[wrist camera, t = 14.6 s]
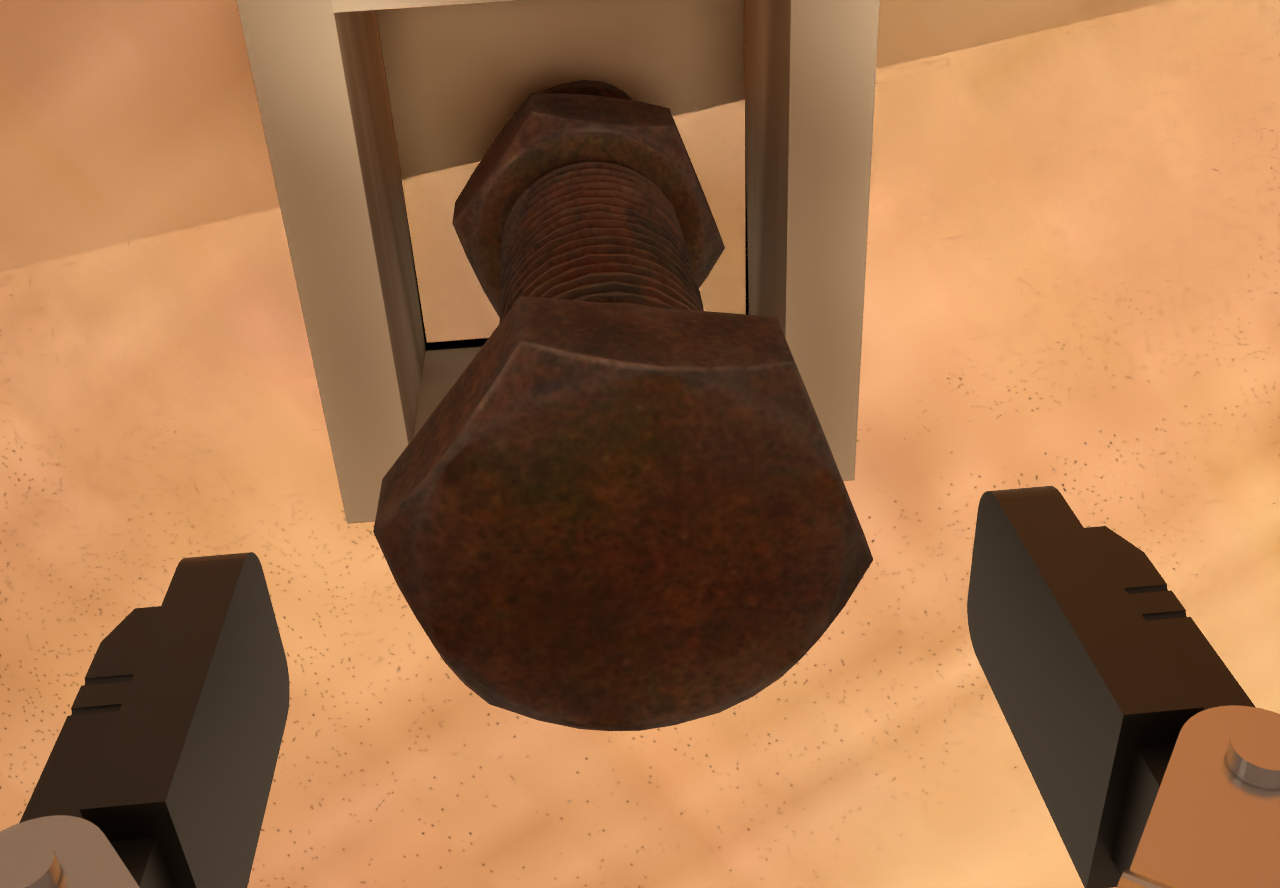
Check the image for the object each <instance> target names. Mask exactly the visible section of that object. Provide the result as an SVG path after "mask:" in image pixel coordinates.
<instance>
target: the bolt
mask: <svg viewBox="0 0 1280 888" xmlns="http://www.w3.org/2000/svg"><path fill="white" fill-rule="evenodd" d="M453 226H454V228H455V230H456V233H457V235H458V237H459V240H460V242H461V244H462V247H463V249H464V251H465V254H466V256H467V258H468V260H469V262H470V264H471V266H472V268H473V270H474V272H475V274H476V276H477V278H478V280H479V282H480V284H481V286H482V288H483V290H484V292H485V294H486V295H487V297H488V299H489V301H490V302H491V304H492V306H493V307H494V309H495V311H496V312H497V314H498V316H499V317H500V323H499V325H498V327H497V328H496V329H495V331H494V332H493V333H492V334H491V336H490V337H489V338H488V340H487V341H486V342H485V344H484V345H483V346H482V348H481V349H480V350H479V352H478V353H477V354H476V356H475V357H474V358H473V360H472V361H471V362H470V364H469V365H468V366H467V368H466V369H465V370H464V372H463V373H462V374H461V375H460V377H459V378H458V379H457V381H456V382H455V383H454V385H453V386H452V387H451V389H450V390H449V391H448V393H447V394H446V395H445V397H444V398H443V399H442V401H441V402H440V403H439V405H438V406H437V407H436V409H435V410H434V411H433V413H432V414H431V415H430V416H429V418H428V419H427V420H426V422H425V423H424V424H423V426H422V427H421V428H420V430H419V431H418V432H417V434H416V435H415V436H414V438H413V439H412V440H411V442H410V443H409V444H408V446H407V447H406V448H405V450H404V451H403V452H402V453H401V455H400V456H399V457H398V459H397V460H396V461H395V463H394V464H393V465H392V467H391V468H390V469H389V471H388V472H387V473H386V475H385V476H384V477H383V479H382V483H381V489H380V495H379V501H378V507H377V513H376V519H375V525H374V531H373V532H374V534H375V536H376V539H377V541H378V543H379V545H380V548H381V550H382V552H383V554H384V556H385V559H386V561H387V563H388V565H389V568H390V570H391V572H392V574H393V576H394V579H395V581H396V583H397V585H398V587H399V589H400V590H401V592H402V594H403V596H404V597H405V599H406V601H407V602H408V604H409V606H410V608H411V609H412V611H413V613H414V615H415V616H416V618H417V620H418V621H419V623H420V624H421V626H422V628H423V629H424V631H425V632H426V634H427V636H428V637H429V639H430V640H431V642H432V643H433V645H434V647H435V648H436V650H437V651H438V653H439V654H440V656H441V657H442V659H443V660H444V662H445V663H446V664H447V665H448V666H449V667H450V669H451V670H452V671H453V672H454V673H455V674H456V675H457V676H458V677H459V678H460V679H461V681H462V682H463V683H464V684H465V685H466V686H467V687H469V688H470V689H471V690H472V691H474V692H475V693H476V694H477V695H479V696H480V697H481V698H482V699H484V700H485V701H486V702H487V703H489V704H491V705H494V706H497V707H500V708H503V709H506V710H509V711H512V712H515V713H518V714H521V715H524V716H527V717H530V718H533V719H536V720H539V721H544V722H549V723H553V724H558V725H563V726H568V727H573V728H578V729H588V730H602V731H640V730H647V729H653V728H660V727H666V726H672V725H677V724H680V723H684V722H687V721H691V720H695V719H698V718H702V717H705V716H709V715H713V714H716V713H719V712H722V711H724V710H726V709H728V708H730V707H732V706H734V705H736V704H738V703H740V702H742V701H744V700H747V699H749V698H751V697H753V696H754V695H756V694H757V693H759V692H760V691H762V690H763V689H765V688H766V687H768V686H769V685H770V684H772V683H773V682H775V681H776V680H778V679H779V678H781V677H782V676H783V675H784V674H785V673H786V672H787V671H788V670H789V669H790V668H792V667H793V666H794V665H795V664H796V663H797V662H798V661H799V660H800V659H801V658H802V657H803V656H804V655H805V654H806V653H807V651H808V650H809V649H810V648H811V647H812V646H813V645H814V644H815V643H816V642H817V641H818V640H819V639H820V637H821V636H822V635H823V634H824V632H825V631H826V630H827V628H828V627H829V626H830V624H831V623H832V622H833V621H834V619H835V618H836V617H837V615H838V614H839V613H840V611H841V610H842V609H843V608H844V606H845V605H846V603H847V601H848V600H849V598H850V597H851V595H852V593H853V592H854V590H855V588H856V587H857V585H858V584H859V582H860V580H861V579H862V577H863V575H864V574H865V572H866V571H867V569H868V567H869V566H870V564H871V562H872V561H873V558H872V555H871V552H870V549H869V546H868V544H867V541H866V538H865V535H864V533H863V530H862V528H861V525H860V523H859V520H858V518H857V515H856V513H855V510H854V508H853V505H852V503H851V500H850V498H849V495H848V493H847V490H846V488H845V485H844V482H843V480H842V477H841V475H840V472H839V470H838V467H837V465H836V462H835V460H834V457H833V455H832V452H831V450H830V447H829V444H828V442H827V439H826V437H825V434H824V432H823V429H822V427H821V424H820V422H819V419H818V417H817V414H816V412H815V409H814V407H813V404H812V402H811V400H810V397H809V395H808V392H807V390H806V387H805V385H804V382H803V380H802V378H801V375H800V373H799V370H798V368H797V365H796V363H795V361H794V358H793V356H792V353H791V351H790V348H789V346H788V343H787V341H786V339H785V336H784V334H783V331H782V329H781V326H780V324H779V321H778V319H777V317H768V316H756V315H744V314H732V313H720V312H708V311H704V310H703V303H702V299H701V295H700V291H699V287H700V286H701V285H702V283H703V282H704V281H705V279H706V278H707V276H708V275H709V273H710V271H711V270H712V268H713V266H714V265H715V263H716V262H717V260H718V258H719V257H720V255H721V254H722V252H723V250H724V249H725V247H724V244H723V241H722V239H721V236H720V233H719V230H718V228H717V225H716V222H715V220H714V217H713V215H712V212H711V210H710V207H709V205H708V202H707V200H706V197H705V195H704V192H703V190H702V187H701V185H700V182H699V180H698V177H697V175H696V173H695V170H694V168H693V165H692V163H691V160H690V158H689V155H688V153H687V151H686V148H685V146H684V143H683V141H682V138H681V136H680V134H679V131H678V129H677V126H676V124H675V122H674V119H673V117H672V115H671V112H670V110H669V108H665V107H661V106H656V105H652V104H647V103H642V102H638V101H633V100H632V99H631V98H630V97H629V96H628V95H627V94H626V93H624V92H623V91H621V90H619V89H618V88H616V87H615V86H612V85H609V84H606V83H604V82H598V81H579V82H573V83H568V84H563V85H560V86H557V87H554V88H551V89H549V90H547V91H545V92H544V93H542V94H531V95H530V96H529V98H528V99H527V100H526V101H525V102H524V104H523V105H522V106H521V107H520V108H519V110H518V111H517V112H516V113H515V114H514V116H513V117H512V118H511V119H510V121H509V122H508V123H507V125H506V126H505V127H504V129H503V130H502V132H501V133H500V134H499V136H498V137H497V138H496V140H495V141H494V142H493V144H492V145H491V147H490V148H489V150H488V151H487V153H486V154H485V156H484V157H483V159H482V160H481V162H480V163H479V165H478V166H477V168H476V169H475V171H474V172H473V174H472V175H471V177H470V179H469V180H468V182H467V184H466V185H465V187H464V189H463V190H462V192H461V194H460V195H459V197H458V199H457V200H456V202H455V208H454V215H453Z"/></svg>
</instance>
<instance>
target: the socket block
mask: <svg viewBox="0 0 1280 888" xmlns="http://www.w3.org/2000/svg"><path fill="white" fill-rule="evenodd" d="M236 1H237V5H238V10H239V15H240V20H241V24H242V29H243V34H244V39H245V43H246V48H247V53H248V57H249V62H250V67H251V72H252V76H253V81H254V86H255V90H256V95H257V100H258V105H259V109H260V114H261V119H262V123H263V128H264V133H265V138H266V142H267V147H268V152H269V157H270V161H271V166H272V171H273V175H274V180H275V185H276V190H277V194H278V199H279V204H280V208H281V213H282V218H283V223H284V227H285V232H286V237H287V241H288V246H289V251H290V256H291V260H292V265H293V270H294V275H295V279H296V284H297V289H298V293H299V298H300V303H301V308H302V312H303V317H304V322H305V326H306V331H307V336H308V341H309V345H310V350H311V355H312V359H313V364H314V369H315V374H316V378H317V383H318V388H319V393H320V397H321V402H322V407H323V411H324V416H325V421H326V426H327V430H328V435H329V440H330V444H331V449H332V454H333V459H334V463H335V468H336V473H337V478H338V482H339V487H340V492H341V496H342V501H343V506H344V511H345V515H346V520H347V524H350V523H362V522H374V521H375V519H376V513H377V507H378V501H379V495H380V489H381V483H382V479H383V477H384V476H385V475H386V473H387V472H388V471H389V469H390V468H391V467H392V465H393V464H394V463H395V461H396V460H397V459H398V457H399V456H400V455H401V453H402V452H403V451H404V450H405V448H406V447H407V446H408V444H409V443H410V442H411V440H412V439H413V438H414V436H415V435H416V434H417V432H418V431H419V430H420V428H421V427H422V426H423V424H424V423H425V422H426V420H427V419H428V418H429V416H430V415H431V414H432V413H433V411H434V410H435V409H436V407H437V406H438V405H439V403H440V402H441V401H442V399H443V398H444V397H445V395H446V394H447V393H448V391H449V390H450V389H451V387H452V386H453V385H454V383H455V382H456V381H457V379H458V378H459V377H460V375H461V374H462V373H463V372H464V370H465V369H466V368H467V366H468V365H469V364H470V362H471V361H472V360H473V358H474V357H475V356H476V354H477V353H478V352H479V350H480V349H481V348H482V346H483V345H484V344H485V342H486V341H487V340H488V338H479V339H466V340H454V341H441V342H428V343H427V340H426V334H425V327H424V321H423V314H422V308H421V301H420V295H419V288H418V282H417V276H416V269H415V263H414V256H413V250H412V243H411V237H410V231H409V224H408V218H407V211H406V205H405V198H404V192H403V185H402V179H401V173H400V166H399V160H398V153H397V147H396V140H395V134H394V128H393V121H392V115H391V108H390V102H389V95H388V89H387V82H386V76H385V70H384V63H383V57H382V50H381V44H380V37H379V31H378V25H377V18H376V12H375V10H381V9H396V8H411V7H426V6H441V5H456V4H471V3H486V2H501V1H515V0H236ZM879 5H880V0H745V288H746V315H756V316H768V317H777V319H778V321H779V324H780V326H781V329H782V331H783V334H784V336H785V339H786V341H787V343H788V346H789V348H790V351H791V353H792V356H793V358H794V361H795V363H796V365H797V368H798V370H799V373H800V375H801V378H802V380H803V382H804V385H805V387H806V390H807V392H808V395H809V397H810V400H811V402H812V404H813V407H814V409H815V412H816V414H817V417H818V419H819V422H820V424H821V427H822V429H823V432H824V434H825V437H826V439H827V442H828V444H829V447H830V450H831V452H832V455H833V457H834V460H835V462H836V465H837V467H838V470H839V472H840V475H841V477H842V480H843V481H852V480H854V478H855V459H856V440H857V421H858V402H859V383H860V365H861V346H862V327H863V308H864V289H865V270H866V251H867V232H868V213H869V194H870V175H871V156H872V137H873V118H874V100H875V81H876V62H877V43H878V24H879Z"/></svg>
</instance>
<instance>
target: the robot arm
mask: <svg viewBox="0 0 1280 888" xmlns="http://www.w3.org/2000/svg"><path fill="white" fill-rule="evenodd" d="M967 613H968V625H969V631H970V636H971V641H972V645H973V648H974V651H975V654H976V656H977V659H978V661H979V663H980V665H981V667H982V669H983V671H984V674H985V676H986V678H987V680H988V682H989V684H990V686H991V688H992V691H993V693H994V695H995V697H996V699H997V701H998V703H999V706H1000V708H1001V710H1002V712H1003V714H1004V716H1005V718H1006V721H1007V723H1008V725H1009V727H1010V729H1011V731H1012V733H1013V735H1014V738H1015V740H1016V742H1017V744H1018V746H1019V748H1020V750H1021V753H1022V755H1023V757H1024V759H1025V761H1026V763H1027V765H1028V768H1029V770H1030V772H1031V774H1032V776H1033V778H1034V780H1035V783H1036V785H1037V787H1038V789H1039V791H1040V793H1041V795H1042V797H1043V800H1044V802H1045V804H1046V806H1047V808H1048V810H1049V812H1050V815H1051V817H1052V819H1053V821H1054V823H1055V825H1056V827H1057V830H1058V832H1059V834H1060V836H1061V838H1062V840H1063V842H1064V844H1065V847H1066V849H1067V851H1068V853H1069V855H1070V857H1071V859H1072V862H1073V864H1074V866H1075V868H1076V870H1077V872H1078V874H1079V877H1080V879H1081V881H1082V883H1083V885H1084V887H1085V888H1113V887H1117V888H1280V714H1278V713H1275V712H1272V711H1268V710H1264V709H1261V708H1256V707H1255V706H1254V704H1253V703H1252V702H1251V700H1250V699H1249V697H1248V696H1247V695H1246V693H1245V692H1244V690H1243V689H1242V688H1241V686H1240V685H1239V684H1238V682H1237V681H1236V679H1235V678H1234V677H1233V675H1232V674H1231V672H1230V671H1229V670H1228V668H1227V667H1226V665H1225V664H1224V663H1223V661H1222V660H1221V659H1220V657H1219V656H1218V654H1217V653H1216V652H1215V650H1214V649H1213V647H1212V646H1211V645H1210V643H1209V642H1208V641H1207V639H1206V638H1205V636H1204V635H1203V634H1202V632H1201V631H1200V629H1199V628H1198V627H1197V625H1196V624H1195V622H1194V621H1193V620H1192V618H1191V617H1187V616H1186V610H1185V609H1184V607H1183V606H1182V604H1181V603H1180V602H1179V600H1178V599H1177V597H1176V596H1175V595H1174V593H1173V592H1172V591H1168V590H1167V584H1166V582H1165V581H1164V579H1163V578H1162V577H1161V575H1160V574H1159V573H1158V571H1157V570H1156V568H1155V567H1154V566H1153V564H1152V563H1151V561H1150V560H1149V559H1148V557H1147V556H1146V554H1145V553H1144V552H1143V551H1141V550H1140V549H1138V548H1137V547H1135V546H1134V545H1132V544H1131V543H1129V542H1128V541H1127V540H1125V539H1124V538H1122V537H1121V536H1119V535H1118V534H1116V533H1115V532H1113V531H1112V530H1110V529H1109V528H1108V527H1106V526H1101V527H1090V528H1083V526H1082V525H1081V523H1080V522H1079V520H1078V519H1077V517H1076V516H1075V514H1074V513H1073V511H1072V510H1071V508H1070V507H1069V505H1068V504H1067V502H1066V501H1065V499H1064V498H1063V496H1062V495H1061V493H1060V492H1059V491H1058V490H1057V489H1056V488H1055V487H1053V486H1045V487H1033V488H1022V489H1010V490H998V491H987V492H985V493H984V494H983V495H982V497H981V499H980V503H979V507H978V514H977V523H976V531H975V540H974V548H973V557H972V566H971V574H970V583H969V591H968V602H967ZM288 708H289V674H288V667H287V661H286V656H285V652H284V649H283V645H282V641H281V637H280V634H279V630H278V626H277V622H276V618H275V615H274V611H273V607H272V603H271V599H270V596H269V592H268V588H267V584H266V581H265V577H264V573H263V569H262V566H261V563H260V561H259V559H258V557H257V556H256V555H255V554H254V553H252V552H251V553H239V554H227V555H216V556H204V557H192V558H184V559H182V560H181V561H180V562H179V564H178V566H177V568H176V571H175V573H174V576H173V578H172V581H171V583H170V586H169V588H168V591H167V593H166V596H165V598H164V601H163V603H162V606H159V607H147V608H136V609H134V610H133V611H132V612H131V613H130V614H129V615H128V616H127V617H126V618H125V619H124V620H123V621H122V622H121V623H120V624H119V625H118V626H117V627H116V628H115V629H114V630H113V631H112V632H111V633H110V634H109V635H108V636H107V637H106V638H105V639H104V640H103V641H102V642H101V643H100V646H99V648H98V650H97V652H96V654H95V657H94V659H93V661H92V663H91V665H90V668H89V670H88V672H87V674H86V677H85V685H84V686H81V688H80V690H79V692H78V694H77V697H76V699H75V701H74V703H73V705H72V708H71V709H72V715H71V716H68V717H67V719H66V721H65V723H64V725H63V728H62V730H61V732H60V734H59V736H58V739H57V741H56V743H55V745H54V748H53V750H52V752H51V754H50V756H49V759H48V761H47V763H46V765H45V768H44V770H43V772H42V774H41V776H40V779H39V781H38V783H37V785H36V788H35V790H34V792H33V794H32V796H31V799H30V801H29V803H28V805H27V807H26V810H25V812H24V814H23V816H22V819H21V821H20V823H19V824H16V825H13V826H11V827H9V828H7V829H5V830H3V831H1V832H0V888H247V885H248V881H249V877H250V873H251V868H252V864H253V860H254V856H255V851H256V847H257V843H258V839H259V834H260V830H261V826H262V822H263V817H264V813H265V809H266V805H267V800H268V796H269V792H270V788H271V783H272V779H273V775H274V771H275V766H276V762H277V758H278V754H279V750H280V745H281V741H282V737H283V733H284V728H285V724H286V720H287V715H288Z"/></svg>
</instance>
